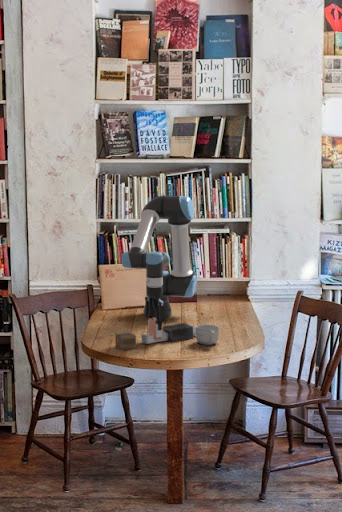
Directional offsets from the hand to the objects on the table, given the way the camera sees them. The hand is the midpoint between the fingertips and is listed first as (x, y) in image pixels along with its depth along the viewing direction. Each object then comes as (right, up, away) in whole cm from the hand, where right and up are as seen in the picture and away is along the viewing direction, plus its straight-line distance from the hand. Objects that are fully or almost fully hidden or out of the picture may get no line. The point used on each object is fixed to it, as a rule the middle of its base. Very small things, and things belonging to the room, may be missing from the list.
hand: (154, 335), depth 341 cm
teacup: (+24, -4, -3) cm, 25 cm away
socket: (-13, -5, -8) cm, 16 cm away
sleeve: (+11, -2, +7) cm, 13 cm away
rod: (+7, -3, +5) cm, 9 cm away
